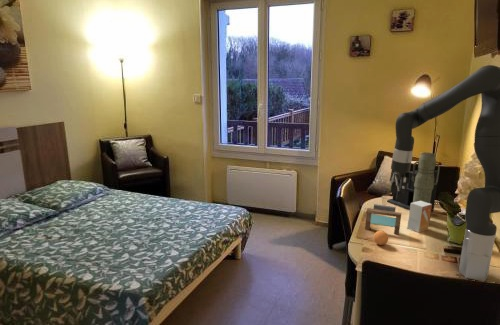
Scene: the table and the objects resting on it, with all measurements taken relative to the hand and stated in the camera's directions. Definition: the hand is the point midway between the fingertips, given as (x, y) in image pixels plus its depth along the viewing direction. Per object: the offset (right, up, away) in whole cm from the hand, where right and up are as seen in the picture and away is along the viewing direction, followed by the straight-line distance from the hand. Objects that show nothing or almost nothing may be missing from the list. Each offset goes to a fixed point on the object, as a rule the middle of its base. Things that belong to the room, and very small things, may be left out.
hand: (395, 195), depth 157 cm
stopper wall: (+10, -12, +41) cm, 44 cm away
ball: (-7, -18, 0) cm, 19 cm away
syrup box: (+29, -21, +6) cm, 36 cm away
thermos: (+24, -15, +30) cm, 41 cm away
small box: (+18, -18, +18) cm, 31 cm away
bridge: (-1, -18, +15) cm, 23 cm away
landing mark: (+5, -15, +28) cm, 32 cm away
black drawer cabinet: (+28, -11, +50) cm, 58 cm away
